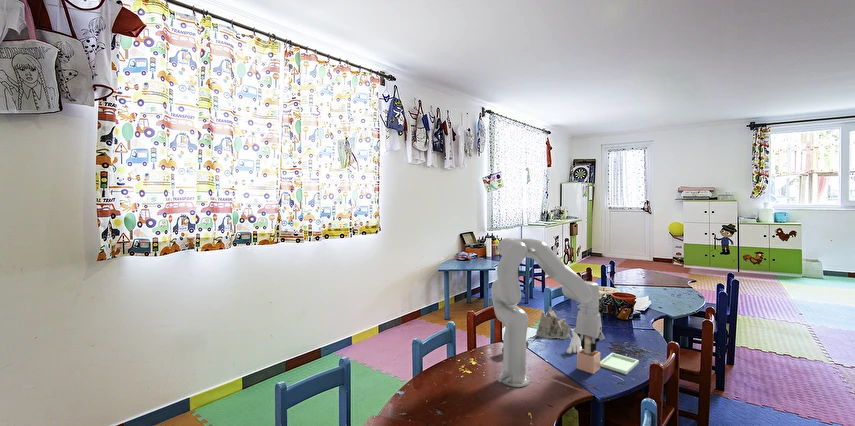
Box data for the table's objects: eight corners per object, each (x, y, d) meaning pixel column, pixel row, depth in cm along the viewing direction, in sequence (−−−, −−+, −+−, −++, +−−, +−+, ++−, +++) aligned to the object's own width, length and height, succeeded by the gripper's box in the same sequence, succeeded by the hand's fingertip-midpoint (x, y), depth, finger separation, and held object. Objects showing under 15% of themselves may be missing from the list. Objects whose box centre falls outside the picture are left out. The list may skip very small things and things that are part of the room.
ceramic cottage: (531, 332, 218) (534, 307, 216) (552, 329, 225) (554, 304, 224) (552, 344, 204) (555, 316, 203) (573, 339, 212) (576, 313, 211)
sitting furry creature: (566, 354, 189) (566, 330, 188) (564, 347, 197) (564, 324, 196) (587, 356, 186) (587, 332, 186) (584, 349, 195) (584, 326, 194)
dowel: (590, 370, 169) (591, 337, 169) (582, 368, 172) (583, 335, 171) (593, 368, 172) (594, 335, 171) (585, 365, 174) (586, 333, 174)
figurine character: (518, 349, 198) (498, 353, 189) (519, 335, 198) (499, 338, 189) (528, 354, 193) (508, 358, 184) (529, 339, 193) (509, 342, 184)
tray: (626, 375, 166) (626, 371, 166) (598, 367, 175) (598, 362, 175) (638, 364, 177) (638, 360, 177) (611, 356, 186) (612, 352, 186)
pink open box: (593, 375, 167) (593, 357, 166) (576, 369, 172) (577, 352, 172) (600, 369, 172) (600, 352, 172) (584, 364, 177) (584, 347, 177)
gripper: (567, 307, 174) (567, 346, 175) (605, 315, 162) (604, 358, 163) (575, 304, 179) (574, 342, 180) (611, 312, 167) (610, 353, 168)
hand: (588, 349), depth 171 cm, fingers closed on dowel, 3 cm apart
